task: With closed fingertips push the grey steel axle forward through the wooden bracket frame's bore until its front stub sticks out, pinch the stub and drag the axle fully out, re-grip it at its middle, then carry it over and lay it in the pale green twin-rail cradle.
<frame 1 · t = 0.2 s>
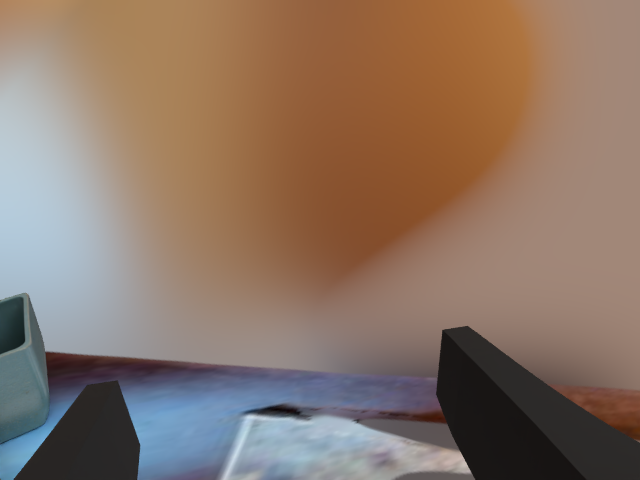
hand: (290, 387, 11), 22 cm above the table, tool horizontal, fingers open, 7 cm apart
flower pot: (12, 422, 40), on the table
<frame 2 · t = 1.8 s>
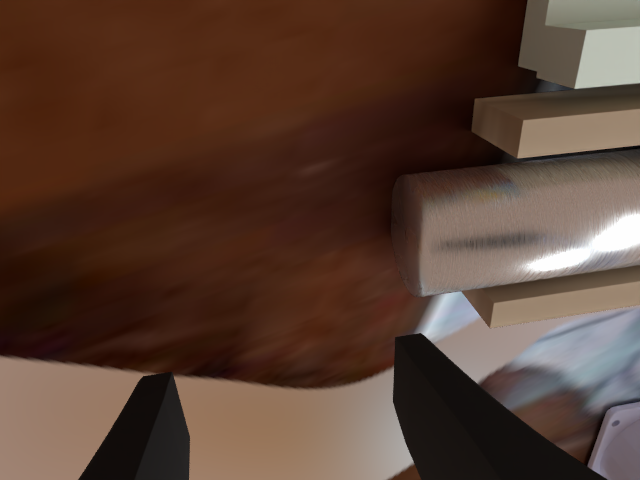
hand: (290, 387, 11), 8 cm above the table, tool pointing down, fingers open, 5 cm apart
wooden bracket frame: (599, 183, 20), on the table
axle: (552, 186, 20), on the table, tilted 6°
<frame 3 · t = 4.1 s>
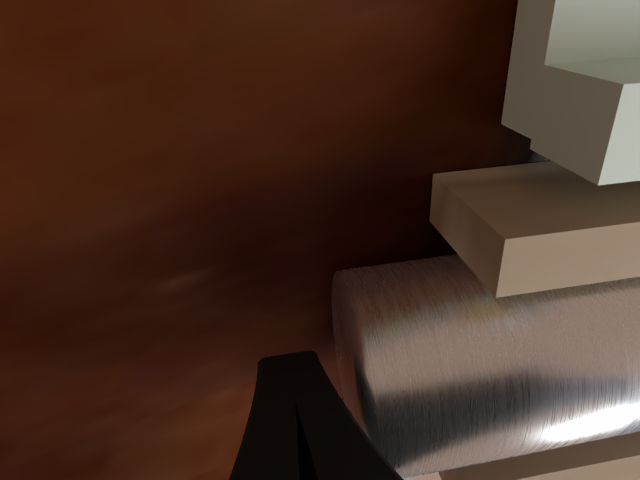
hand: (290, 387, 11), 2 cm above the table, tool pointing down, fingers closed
wooden bracket frame: (624, 284, 13), on the table
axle: (577, 291, 13), on the table, tilted 15°, touching gripper
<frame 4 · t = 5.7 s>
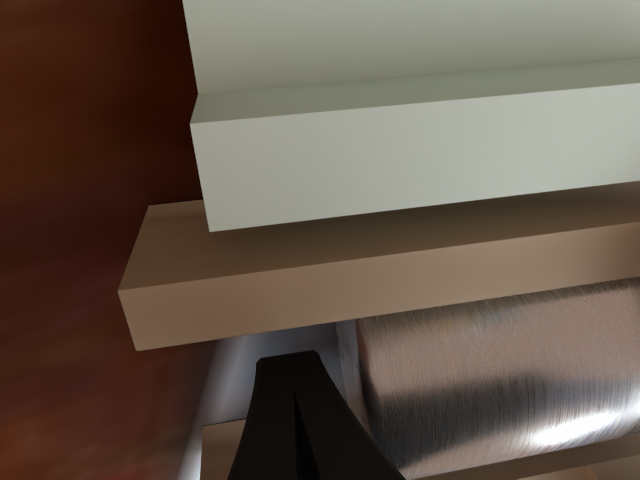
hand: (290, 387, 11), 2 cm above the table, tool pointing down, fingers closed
wooden bracket frame: (413, 316, 13), on the table
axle: (581, 293, 13), on the table, tilted 15°, touching gripper
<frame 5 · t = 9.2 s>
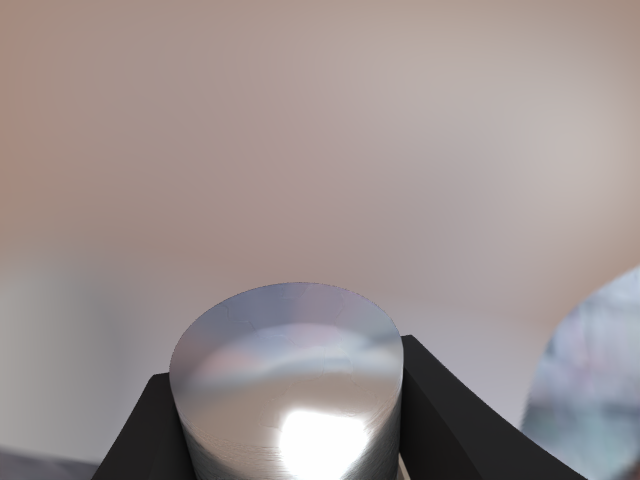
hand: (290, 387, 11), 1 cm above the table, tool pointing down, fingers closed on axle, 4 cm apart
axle: (297, 474, 14), on the table, touching gripper
when the fingers open (1 cm above the table, at t = 12.2 s): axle stays where it is, on the table.
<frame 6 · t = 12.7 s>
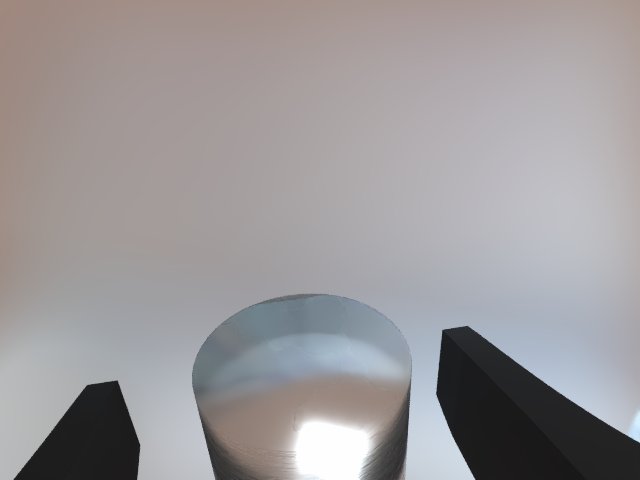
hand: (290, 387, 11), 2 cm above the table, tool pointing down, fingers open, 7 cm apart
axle: (297, 478, 15), on the table, tilted 9°
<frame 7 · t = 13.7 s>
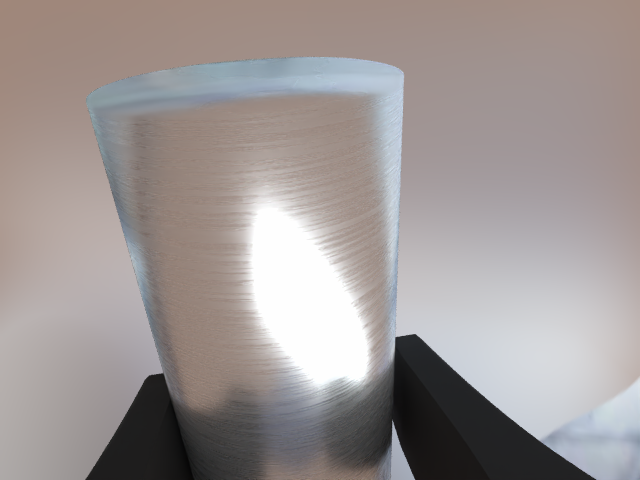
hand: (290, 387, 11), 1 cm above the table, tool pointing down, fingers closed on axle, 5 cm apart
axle: (280, 348, 12), on the table, touching gripper
when the fingers open (5 cm above the table, at t = 17.1 s): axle stays where it is, resting on cradle.
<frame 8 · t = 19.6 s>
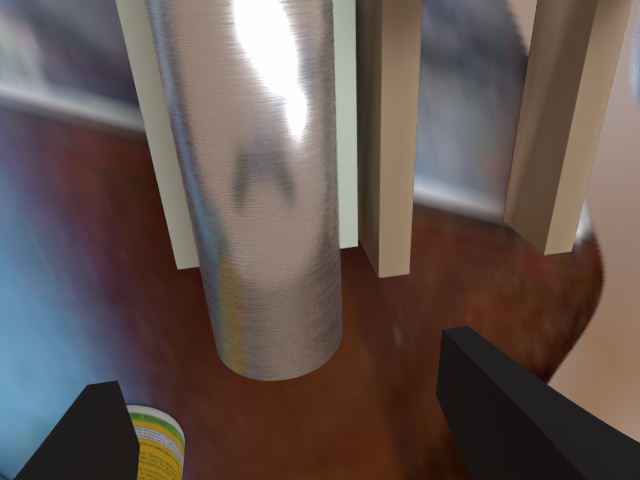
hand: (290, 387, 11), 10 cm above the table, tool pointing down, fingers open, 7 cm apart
supplement bottle: (131, 435, 24), on the table
cradle: (250, 109, 17), on the table
wooden bracket frame: (457, 90, 18), on the table
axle: (239, 119, 15), point 3 cm above the table, tilted 12°, touching cradle
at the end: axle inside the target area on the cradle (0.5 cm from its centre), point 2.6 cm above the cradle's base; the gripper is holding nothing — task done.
